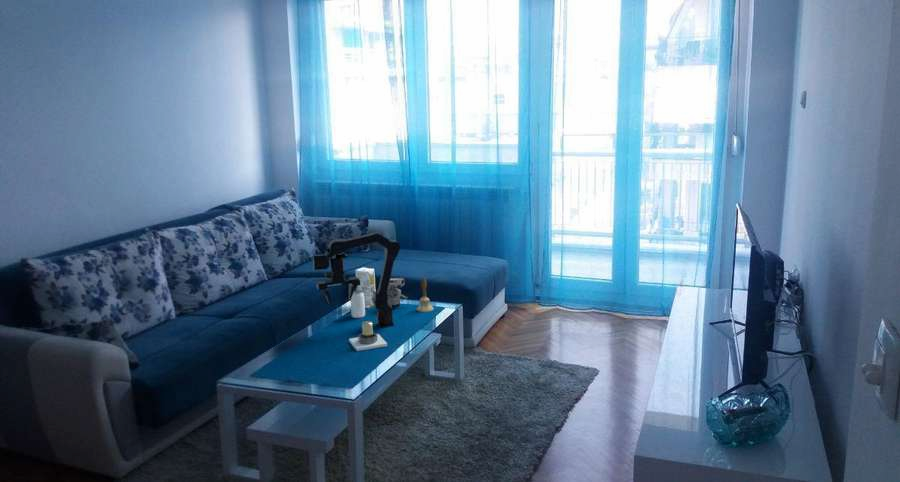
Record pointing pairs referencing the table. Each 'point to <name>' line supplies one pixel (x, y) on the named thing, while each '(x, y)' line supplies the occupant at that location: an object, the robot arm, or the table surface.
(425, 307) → the hand bell
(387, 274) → the robot arm
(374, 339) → the socket collar
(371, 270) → the juice carton
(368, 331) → the brass cylinder
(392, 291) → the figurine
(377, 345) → the socket base
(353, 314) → the can
